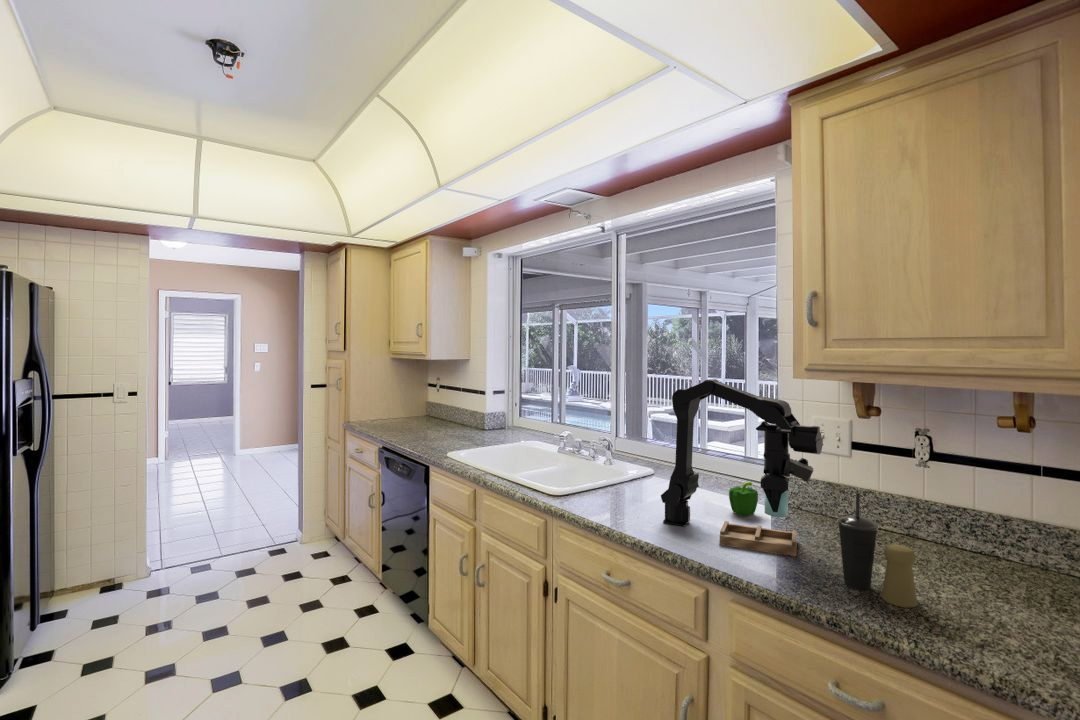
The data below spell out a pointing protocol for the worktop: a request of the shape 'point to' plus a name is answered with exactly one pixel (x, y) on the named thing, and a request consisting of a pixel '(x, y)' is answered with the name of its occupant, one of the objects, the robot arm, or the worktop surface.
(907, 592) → the cork
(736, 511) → the bell pepper
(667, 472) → the worktop surface
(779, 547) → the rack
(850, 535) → the drinking cup
